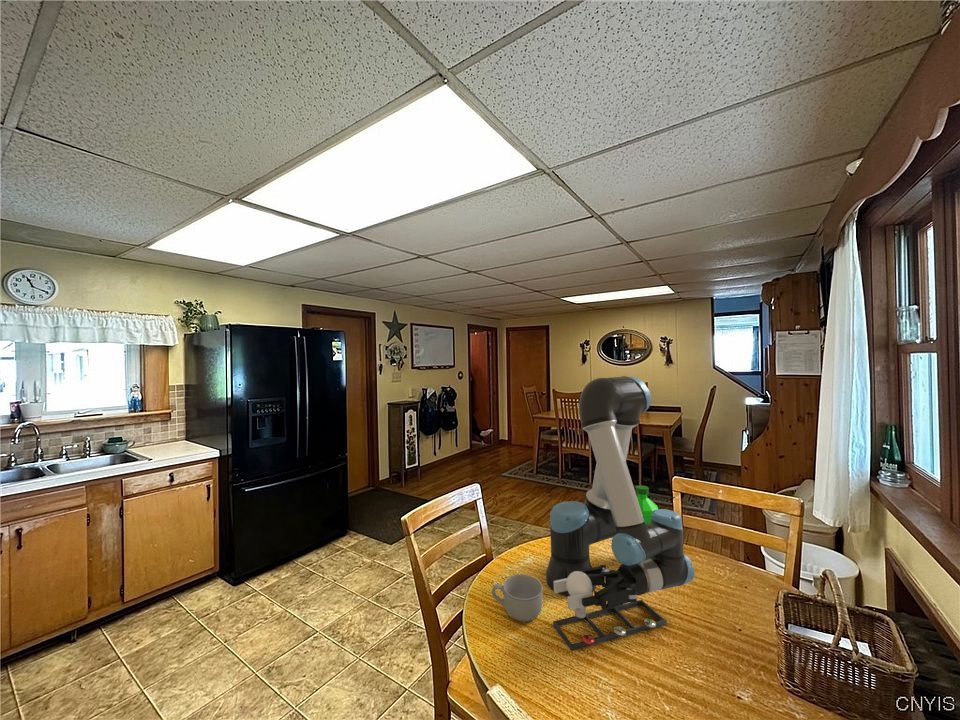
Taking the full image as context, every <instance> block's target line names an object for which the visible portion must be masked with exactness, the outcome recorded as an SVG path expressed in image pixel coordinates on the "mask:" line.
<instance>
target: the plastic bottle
mask: <svg viewBox="0 0 960 720" xmlns="http://www.w3.org/2000/svg"><path fill="white" fill-rule="evenodd" d="M649 490H650V488H649V486H646V485H635V493H636V496H637V499H638V502H639V506H640V509H641V512H642V515H643V518H644V521H645V524H648V523H651V522H652V521H651V517H652V512H653V511H654V510H657V509H659V507H658V505H657V504H656V503H655V502H654V501H653V500H651V499H650V498H649V497H648V495H649V494H650V491H649Z"/></svg>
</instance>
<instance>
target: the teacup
mask: <svg viewBox="0 0 960 720" xmlns="http://www.w3.org/2000/svg"><path fill="white" fill-rule="evenodd" d="M543 587H544V586H543V583H542V582H541V581H540V580H539V579H538V578H537V577H535V576H532V575H530V574H524V573H519V574H518V573H517V574H513V575H511V576H508V577H507V578H506V579H505V580H504V582H503V585H502V584H501V583H495V584H494V585H493V586H492V587H491V596H492V597H493V599H494V600H495V601H496V602H498V603H500V605H501V606H502V607H503V608H505V610H506V613H508V615H509V617H511V618H513V619H514V620H517V621H519V622H530V621H533V620H534V619H536V618H538V616H539V615H540V614H541V612H542V608H543V591H544V588H543ZM496 590H500V591H501V594H502V596H503V598H501V597H500V596H499V595H498V594H496Z"/></svg>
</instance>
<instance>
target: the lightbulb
mask: <svg viewBox="0 0 960 720" xmlns="http://www.w3.org/2000/svg"><path fill="white" fill-rule="evenodd" d="M566 587H567V591H568V593H569V594H570V596H573V595H577V594H582V593H586V592H590V591H591V592H592V582H591V580H590V578H589V577H588V576H587V575H586V574H585V573H583V572H581V571H574V572H572V573H571V574H570V575H569V576H568V578H567V580H566ZM592 593H593V592H592ZM586 608H587V607H580V608H576V609H574V616H576V617H578V618H584V617H585V616H586V613H587V612H586Z"/></svg>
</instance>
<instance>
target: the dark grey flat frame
mask: <svg viewBox="0 0 960 720" xmlns="http://www.w3.org/2000/svg"><path fill="white" fill-rule="evenodd" d="M640 606H641V607H642V608H644V609H645V610H646V611H647V612H648V613H650V614H651V616H653V617H654V618H655V619H656V620H657V621H655V620H654V619H652V618H645V619H644V620H643V624H642V625H641V624H640V625H638V626H635V625H634V624H633V623H632V622H631V621H630V620H629V619H628V618H627V617H626V616H625V615H624V614H622V613H621V611H625V610H631V609H634V608H636V607H637V608H638V607H640ZM609 614H615V615H616V616H617V617H618V618H619V619H620V620H621V621H622V622H623V623H624V624H625V625H626V626H627V627H628V629H626V628H624V627H622V626H615V627H614V628H613V632H611V633H609V634H608V633H607V634H604V633H603V631H602V630H601V629H600V628H599V627H598V626H597V625H596V624H595V623H594V621H593V620H592V619H593V618H597V617H601V616H604V615H609ZM581 621H585V622H586V623H587V624H588V625H589V626H590V627H591V628H592V630H593V631H594V632H595V633H596V634H597V635H598V636H596V637H593V636H592V635H590V634H583V636H581V637H582V638H581V641H579V642H575V643H572V642H571V641H570V640H569V637H568V636H566V634H565V633H564V632H563V630H562V629H561V628H560V627H561V626H565V625H569V624H572V623H573V624H574V623H577V622H581ZM664 626H667V620H666V619H665V618H664V617H662V616H661V615H660V614H659V613H658V612H657V611H656V610H654V608H652V607H651V606H649V605H648V604H647V602H645V601H644V600H642V599H639V600H637V602H628V603H625V604H622V605H619V606H616V607H613V608H610V609H607V610H603V609H599V610H594V611H590V612H586V616H585V617H584V618H578V617H576V616H575V615H574V616H569V617H565V618H561V619H558V620H554V621H553V622H552V627H553V628H554V630H556V632H557V634H558V635H559V636H560V637H561V639H562V641H563V642H564V643H565V645H566V646H567V647H568V648H569V650H570V651H571V652H573V651H577V650H580V649H584V648H589V647H592V646H595V645H598V644H602V643H606V642H610V641H614V640H616V639H617V640H618V639H621V638H624V637H627V636H631V635H635V634H638V633H639V634H640V633H643V632H646V631H649V630H653V629H654V630H655V629H658V628H661V627H664Z"/></svg>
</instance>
